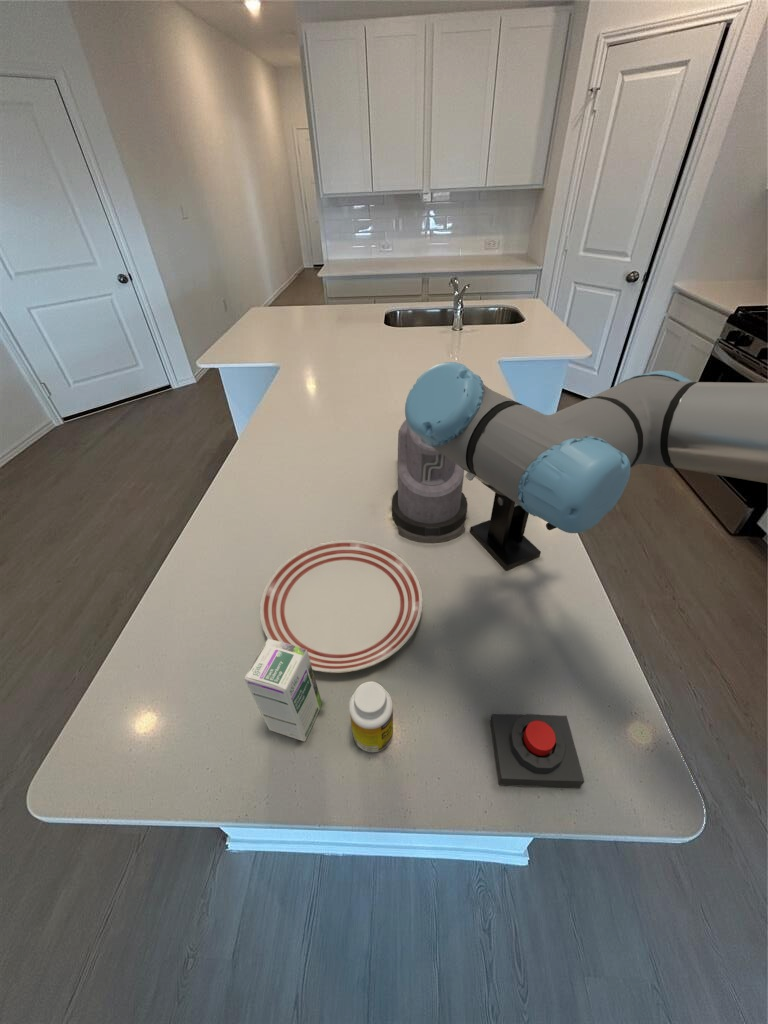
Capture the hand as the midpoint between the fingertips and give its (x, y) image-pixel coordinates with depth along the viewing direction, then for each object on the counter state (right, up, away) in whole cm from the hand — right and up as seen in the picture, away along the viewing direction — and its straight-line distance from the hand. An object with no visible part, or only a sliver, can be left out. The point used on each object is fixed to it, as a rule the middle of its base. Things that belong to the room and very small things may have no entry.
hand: (562, 511), depth 68 cm
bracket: (-4, -7, +19) cm, 20 cm away
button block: (-8, -32, -10) cm, 35 cm away
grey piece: (-18, +3, +31) cm, 36 cm away
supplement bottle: (-29, -31, -8) cm, 43 cm away
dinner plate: (-35, -17, +8) cm, 40 cm away
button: (-8, -29, -13) cm, 33 cm away
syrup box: (-40, -29, -6) cm, 50 cm away
